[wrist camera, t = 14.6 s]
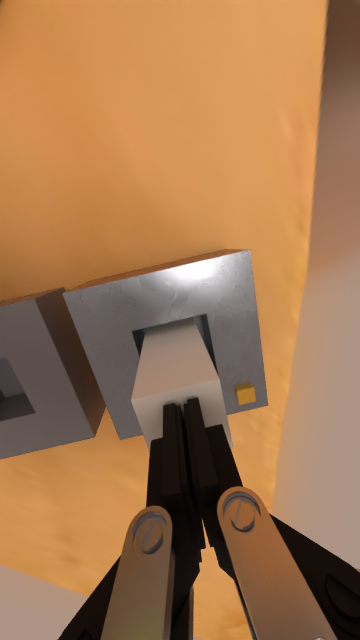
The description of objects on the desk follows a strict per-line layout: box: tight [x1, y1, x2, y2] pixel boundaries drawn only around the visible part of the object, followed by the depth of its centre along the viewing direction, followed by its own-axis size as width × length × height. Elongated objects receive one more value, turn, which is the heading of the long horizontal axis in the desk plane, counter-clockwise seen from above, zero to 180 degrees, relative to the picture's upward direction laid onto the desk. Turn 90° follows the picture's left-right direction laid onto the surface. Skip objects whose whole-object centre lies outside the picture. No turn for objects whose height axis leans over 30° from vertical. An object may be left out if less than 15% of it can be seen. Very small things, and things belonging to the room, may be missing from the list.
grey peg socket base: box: [0, 287, 106, 459], centre depth 20 cm, size 13×13×5 cm
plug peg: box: [131, 317, 233, 452], centre depth 16 cm, size 4×4×12 cm
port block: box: [62, 249, 268, 440], centre depth 20 cm, size 13×13×6 cm
